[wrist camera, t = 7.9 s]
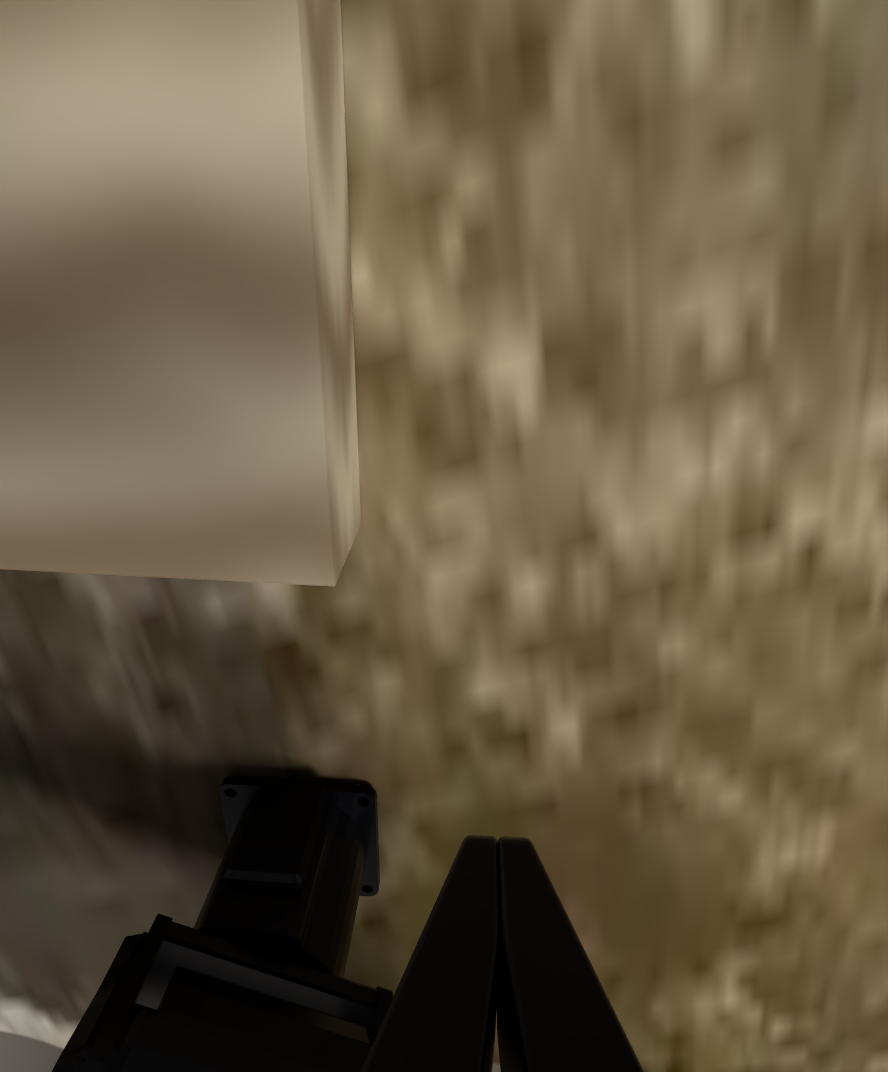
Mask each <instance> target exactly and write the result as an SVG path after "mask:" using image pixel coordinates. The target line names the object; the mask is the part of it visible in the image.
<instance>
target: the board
mask: <svg viewBox="0 0 888 1072" xmlns="http://www.w3.org/2000/svg"><path fill="white" fill-rule="evenodd" d="M360 525H361V510H360V485H359V459H358V434H357V409H356V384H355V359H354V334H353V308H352V283H351V258H350V233H349V208H348V182H347V157H346V132H345V107H344V82H343V56H342V31H341V6H340V0H0V569H10V570H29V571H48V572H68V573H87V574H106V575H126V576H145V577H164V578H184V579H203V580H222V581H242V582H261V583H280V584H300V585H319V586H335V584H336V582H337V579H338V577H339V575H340V572H341V570H342V568H343V565H344V563H345V561H346V558H347V556H348V554H349V551H350V549H351V547H352V544H353V542H354V540H355V537H356V535H357V532H358V530H359V528H360Z"/></svg>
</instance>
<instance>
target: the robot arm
mask: <svg viewBox="0 0 888 1072" xmlns="http://www.w3.org/2000/svg"><path fill="white" fill-rule="evenodd" d="M219 796H220V801H221V807H222V812H223V817H224V822H225V828H226V833H227V838H228V843H229V845H228V847H227V850H226V852H225V854H224V857H223V859H222V861H221V864H220V866H219V869H218V871H217V873H216V876H215V878H214V881H213V883H212V885H211V888H210V890H209V892H208V895H207V897H206V900H205V902H204V904H203V907H202V909H201V912H200V914H199V916H198V919H197V921H196V923H195V926H194V928H190V927H187V926H184V925H181V924H178V923H175V922H172V920H173V918H170V917H167V916H164V915H161V914H158V915H157V916H156V919H155V921H154V923H153V925H152V927H151V929H150V931H149V933H147V932H144V933H143V934H138V935H133V936H127V937H125V939H124V941H123V943H122V945H121V947H120V949H119V951H118V953H117V955H116V957H115V959H114V961H113V963H112V964H111V966H110V968H109V970H108V972H107V974H106V976H105V978H104V980H103V982H102V984H101V986H100V987H99V989H98V991H97V993H96V995H95V997H94V998H93V1000H92V1002H91V1003H90V1005H89V1007H88V1009H87V1010H86V1012H85V1014H84V1015H83V1017H82V1019H81V1021H80V1022H79V1024H78V1026H77V1028H76V1029H75V1031H74V1033H73V1034H72V1036H71V1038H70V1040H69V1041H68V1043H67V1045H66V1046H65V1048H64V1050H63V1052H62V1053H61V1055H60V1057H59V1059H58V1060H57V1063H56V1064H55V1066H54V1068H53V1070H52V1072H492V1065H493V1056H494V1043H495V1029H496V1011H497V1035H498V1047H499V1058H500V1068H501V1072H644V1071H643V1069H642V1067H641V1065H640V1063H639V1061H638V1058H637V1056H636V1054H635V1052H634V1050H633V1048H632V1046H631V1044H630V1042H629V1040H628V1038H627V1036H626V1034H625V1032H624V1030H623V1028H622V1026H621V1024H620V1022H619V1020H618V1018H617V1015H616V1013H615V1011H614V1009H613V1007H612V1005H611V1003H610V1001H609V999H608V997H607V995H606V993H605V991H604V989H603V987H602V985H601V983H600V981H599V979H598V977H597V975H596V973H595V970H594V968H593V966H592V964H591V962H590V960H589V958H588V956H587V954H586V952H585V950H584V948H583V946H582V944H581V942H580V940H579V938H578V936H577V934H576V932H575V930H574V927H573V925H572V923H571V921H570V919H569V917H568V915H567V913H566V911H565V909H564V907H563V905H562V903H561V901H560V899H559V897H558V895H557V893H556V891H555V889H554V887H553V885H552V882H551V880H550V878H549V876H548V874H547V872H546V870H545V868H544V866H543V864H542V862H541V860H540V858H539V856H538V854H537V852H536V850H535V848H534V846H533V844H532V842H531V841H530V840H529V839H528V838H525V837H505V836H503V837H501V838H499V840H498V844H497V840H496V838H495V837H493V836H482V835H468V836H467V837H466V838H465V839H464V840H463V842H462V844H461V847H460V849H459V851H458V853H457V856H456V858H455V860H454V862H453V864H452V867H451V869H450V871H449V873H448V876H447V878H446V880H445V882H444V885H443V887H442V889H441V891H440V894H439V896H438V898H437V900H436V903H435V905H434V907H433V909H432V912H431V914H430V916H429V918H428V920H427V923H426V925H425V927H424V929H423V932H422V934H421V936H420V938H419V941H418V943H417V945H416V947H415V950H414V952H413V954H412V956H411V959H410V961H409V963H408V965H407V967H406V970H405V972H404V974H403V976H402V979H401V981H400V983H399V985H398V988H397V990H396V992H395V994H394V997H393V992H392V991H391V990H388V989H385V988H382V987H379V986H378V987H377V988H376V989H375V988H372V987H369V986H366V985H363V984H360V983H357V982H354V981H351V980H348V979H345V978H344V973H345V968H346V963H347V957H348V952H349V947H350V942H351V936H352V931H353V926H354V921H355V916H356V910H357V905H358V900H359V896H373V895H376V894H377V893H378V890H379V884H380V871H379V842H378V813H377V794H376V791H375V790H374V789H373V788H372V787H370V786H366V785H354V784H339V783H324V782H309V781H293V780H278V779H263V778H248V777H233V776H232V777H227V778H225V779H224V780H223V782H222V784H221V786H220V788H219ZM362 797H364V798H362Z"/></svg>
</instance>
